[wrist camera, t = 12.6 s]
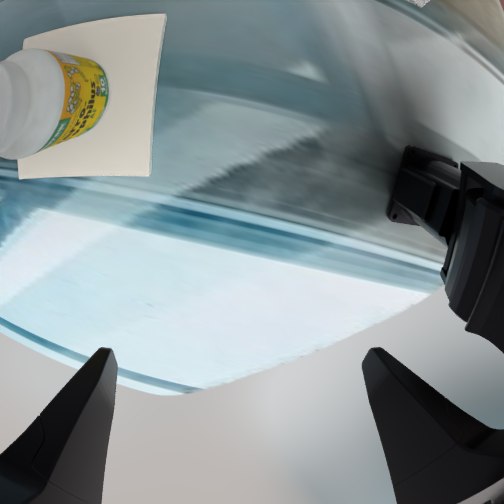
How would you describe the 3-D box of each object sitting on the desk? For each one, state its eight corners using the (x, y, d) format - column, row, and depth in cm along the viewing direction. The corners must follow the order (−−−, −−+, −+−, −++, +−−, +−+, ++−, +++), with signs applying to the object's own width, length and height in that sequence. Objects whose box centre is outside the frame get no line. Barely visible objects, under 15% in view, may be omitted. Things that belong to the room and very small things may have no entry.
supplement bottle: (68, 49, 12) (-27, 33, 4) (128, 76, 14) (49, 59, 5) (35, 120, 14) (-63, 152, 5) (90, 149, 16) (1, 199, 7)
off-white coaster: (167, 16, 13) (165, 13, 12) (151, 173, 18) (148, 176, 17) (29, 40, 11) (24, 39, 10) (24, 176, 16) (19, 179, 15)
